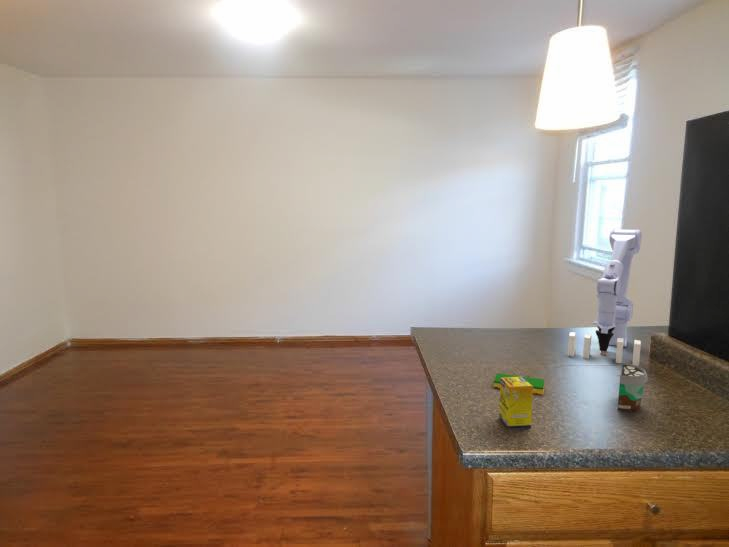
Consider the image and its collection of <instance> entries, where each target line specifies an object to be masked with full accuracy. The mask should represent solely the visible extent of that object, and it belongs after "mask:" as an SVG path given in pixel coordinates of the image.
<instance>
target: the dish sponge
mask: <svg viewBox="0 0 729 547" xmlns="http://www.w3.org/2000/svg"><path fill="white" fill-rule="evenodd" d="M504 377H523V378H524V379H525V380H526V381H527V382H528V383H530V384H531V385H532V386H533V394H536V393H537V395H544V393H545V384H546V382H545V379H544V378H543V379H542V378H536V377H528V376H521V375H512V374H506V373H499V372H498V373H496V374H495V377H494V379H493V388H495V387H498V388H497V389H500V381H501V378H504Z"/></svg>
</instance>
